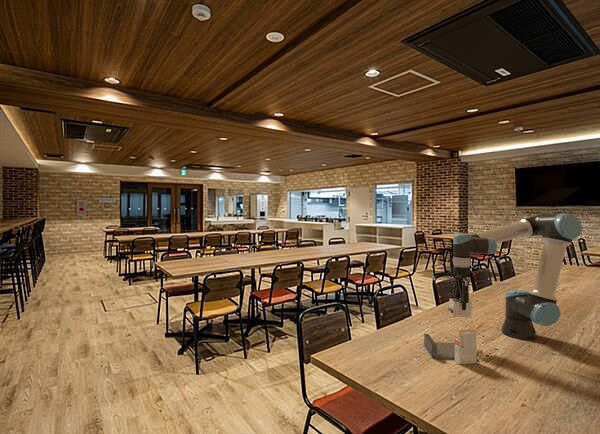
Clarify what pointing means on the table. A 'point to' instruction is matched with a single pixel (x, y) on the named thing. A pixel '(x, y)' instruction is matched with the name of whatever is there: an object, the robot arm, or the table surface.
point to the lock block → (458, 308)
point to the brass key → (481, 355)
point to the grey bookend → (439, 348)
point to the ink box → (466, 347)
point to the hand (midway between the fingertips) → (460, 314)
